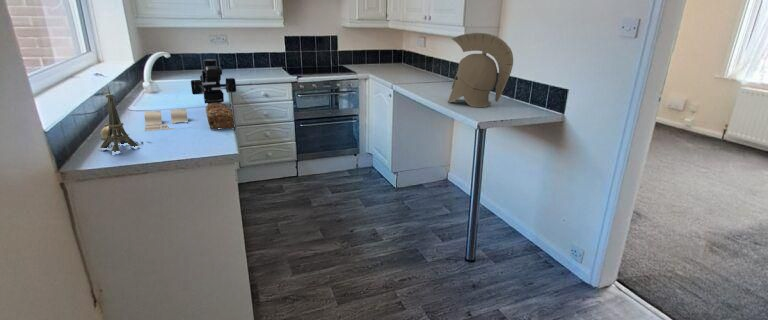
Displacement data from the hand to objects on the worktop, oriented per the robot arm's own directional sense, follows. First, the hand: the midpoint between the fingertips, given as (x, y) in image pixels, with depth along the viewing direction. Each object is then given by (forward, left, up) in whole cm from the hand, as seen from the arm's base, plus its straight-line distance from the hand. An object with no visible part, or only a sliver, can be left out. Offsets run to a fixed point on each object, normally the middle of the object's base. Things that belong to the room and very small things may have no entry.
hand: (215, 89), depth 189 cm
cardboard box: (-3, -21, -17) cm, 27 cm away
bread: (0, +1, -17) cm, 17 cm away
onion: (+6, -40, -17) cm, 44 cm away
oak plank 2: (-12, -16, -14) cm, 24 cm away
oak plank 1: (-12, -26, -14) cm, 32 cm away
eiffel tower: (+19, -37, -17) cm, 45 cm away
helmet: (+1, +142, -17) cm, 143 cm away
